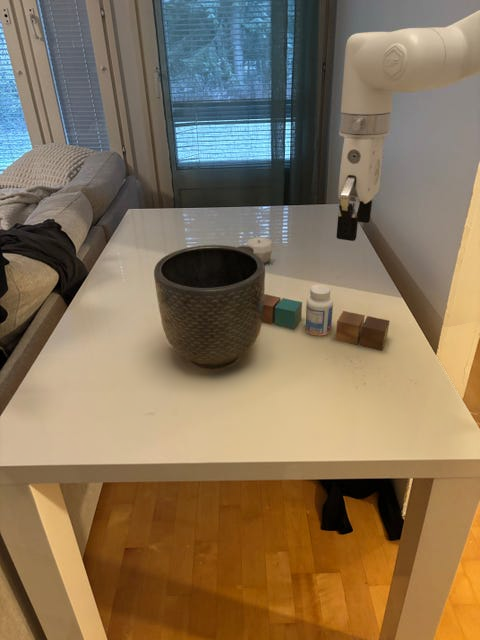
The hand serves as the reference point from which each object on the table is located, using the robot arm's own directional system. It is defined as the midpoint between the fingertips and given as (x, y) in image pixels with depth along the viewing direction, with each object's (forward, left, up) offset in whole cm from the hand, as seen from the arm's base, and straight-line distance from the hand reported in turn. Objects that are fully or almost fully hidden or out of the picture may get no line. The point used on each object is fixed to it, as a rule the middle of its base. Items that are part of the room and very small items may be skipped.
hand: (353, 230), depth 81 cm
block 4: (-6, -4, -24) cm, 25 cm away
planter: (+22, +13, -25) cm, 35 cm away
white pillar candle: (+32, -31, -25) cm, 51 cm away
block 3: (-1, -4, -24) cm, 25 cm away
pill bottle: (+6, -4, -25) cm, 26 cm away
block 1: (+18, -4, -24) cm, 30 cm away
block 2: (+13, -4, -24) cm, 28 cm away
